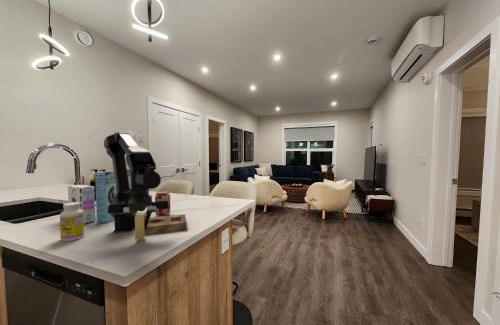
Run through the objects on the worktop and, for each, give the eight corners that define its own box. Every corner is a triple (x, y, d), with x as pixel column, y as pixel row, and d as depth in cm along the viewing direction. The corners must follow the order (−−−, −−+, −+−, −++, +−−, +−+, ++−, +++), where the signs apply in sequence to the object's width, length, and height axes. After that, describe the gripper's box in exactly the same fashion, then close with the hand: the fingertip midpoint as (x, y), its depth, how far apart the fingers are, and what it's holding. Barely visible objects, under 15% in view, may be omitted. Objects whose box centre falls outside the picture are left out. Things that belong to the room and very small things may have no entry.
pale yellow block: (135, 239, 74) (134, 216, 74) (137, 234, 79) (137, 212, 78) (144, 238, 75) (143, 215, 74) (146, 233, 80) (145, 212, 79)
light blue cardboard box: (106, 223, 96) (105, 172, 96) (95, 223, 97) (93, 172, 96) (132, 211, 116) (131, 169, 115) (122, 211, 116) (121, 169, 115)
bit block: (143, 235, 82) (142, 227, 82) (146, 224, 94) (146, 217, 94) (186, 229, 87) (186, 222, 87) (185, 220, 100) (184, 214, 99)
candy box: (96, 221, 99) (95, 186, 98) (80, 225, 94) (79, 187, 93) (83, 217, 106) (82, 183, 106) (68, 220, 101) (67, 185, 101)
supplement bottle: (55, 241, 77) (54, 205, 76) (74, 234, 83) (73, 201, 83) (70, 242, 75) (69, 206, 75) (88, 235, 82) (87, 202, 81)
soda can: (172, 213, 111) (172, 190, 111) (166, 217, 104) (165, 193, 104) (159, 213, 112) (159, 190, 111) (152, 217, 105) (151, 193, 104)
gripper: (101, 191, 65) (103, 241, 66) (167, 187, 72) (168, 234, 72) (111, 186, 76) (112, 229, 76) (168, 183, 82) (168, 223, 83)
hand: (140, 229), depth 77 cm, fingers closed on pale yellow block, 3 cm apart
